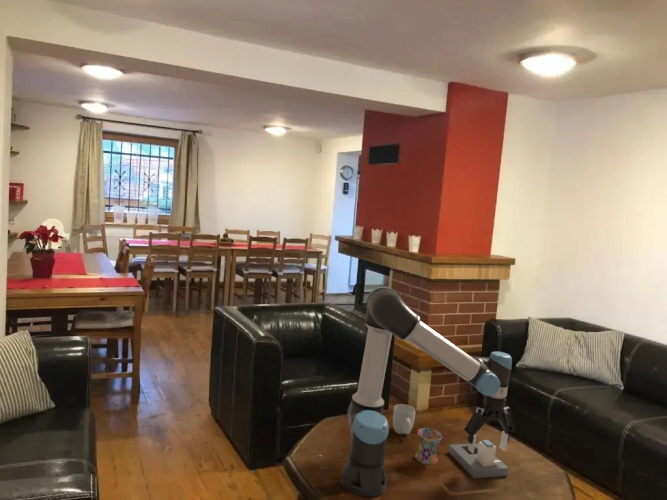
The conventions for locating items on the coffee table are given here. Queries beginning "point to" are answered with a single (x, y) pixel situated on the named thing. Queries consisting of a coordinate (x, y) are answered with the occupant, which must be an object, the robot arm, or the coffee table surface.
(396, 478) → the coffee table surface
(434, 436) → the mug
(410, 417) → the mug
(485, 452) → the plug
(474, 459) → the panel
